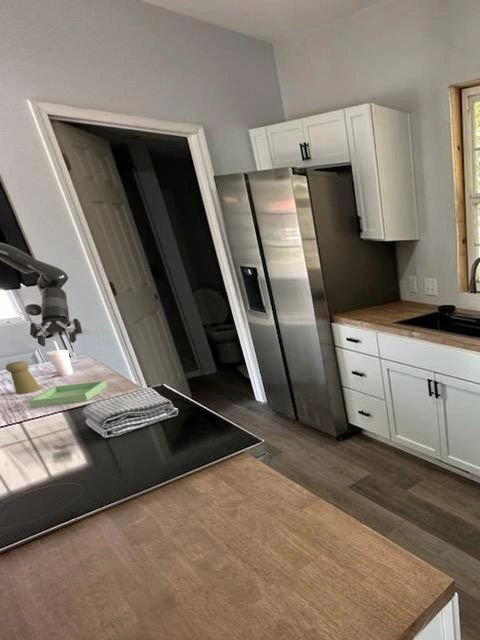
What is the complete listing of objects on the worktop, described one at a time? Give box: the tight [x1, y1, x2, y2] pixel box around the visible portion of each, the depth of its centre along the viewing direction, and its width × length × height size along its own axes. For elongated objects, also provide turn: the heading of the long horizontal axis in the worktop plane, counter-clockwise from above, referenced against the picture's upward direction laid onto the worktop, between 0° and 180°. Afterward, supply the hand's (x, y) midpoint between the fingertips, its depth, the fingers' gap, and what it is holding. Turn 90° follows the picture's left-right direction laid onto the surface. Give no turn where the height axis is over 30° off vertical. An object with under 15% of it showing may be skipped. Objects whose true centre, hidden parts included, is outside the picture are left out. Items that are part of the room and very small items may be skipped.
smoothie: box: [45, 340, 74, 377], centre depth 164 cm, size 6×6×14 cm
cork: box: [5, 360, 41, 395], centre depth 148 cm, size 6×6×11 cm
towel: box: [81, 386, 179, 439], centre depth 122 cm, size 15×18×8 cm
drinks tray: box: [27, 380, 109, 409], centre depth 144 cm, size 15×15×2 cm
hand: (57, 343), depth 165 cm, fingers open, 8 cm apart
